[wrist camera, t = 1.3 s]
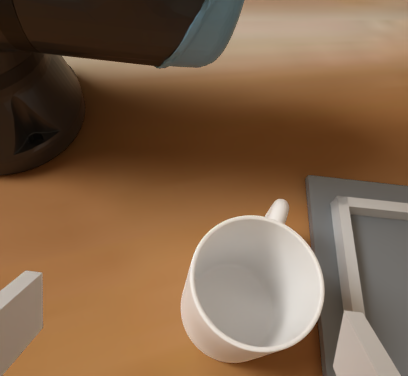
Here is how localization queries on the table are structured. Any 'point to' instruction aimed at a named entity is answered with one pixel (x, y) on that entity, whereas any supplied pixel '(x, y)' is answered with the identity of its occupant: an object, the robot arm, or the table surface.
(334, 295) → the rail plate
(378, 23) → the table surface
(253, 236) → the cup
